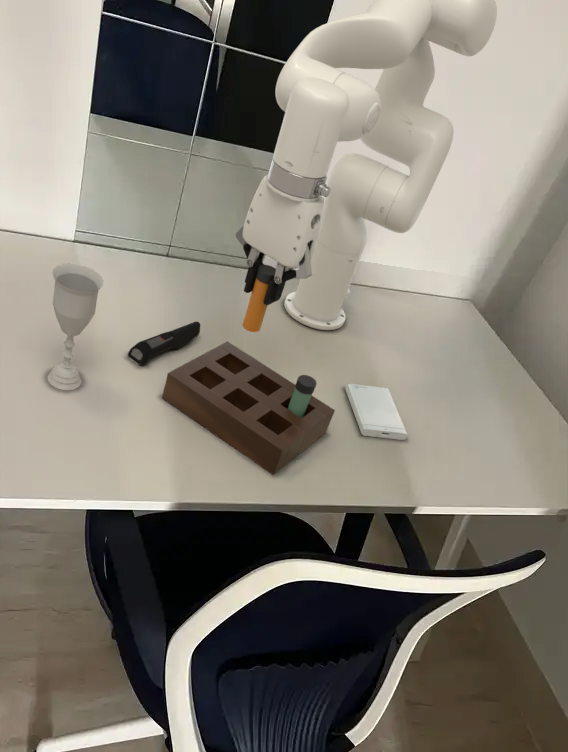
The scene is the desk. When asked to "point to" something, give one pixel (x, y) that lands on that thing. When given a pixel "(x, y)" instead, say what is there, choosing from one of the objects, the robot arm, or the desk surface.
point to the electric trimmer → (163, 343)
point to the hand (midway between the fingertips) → (260, 295)
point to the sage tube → (302, 395)
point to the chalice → (72, 315)
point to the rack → (246, 406)
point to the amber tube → (258, 299)
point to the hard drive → (376, 412)
